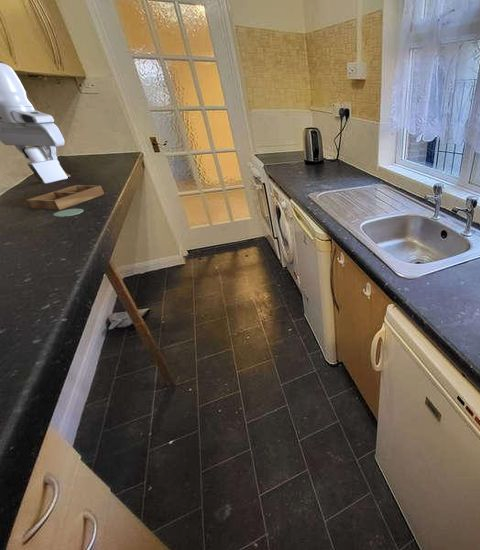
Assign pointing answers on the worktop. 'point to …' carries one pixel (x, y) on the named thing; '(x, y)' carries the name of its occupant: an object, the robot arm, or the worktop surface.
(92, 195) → the tray
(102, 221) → the worktop surface
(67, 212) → the mat
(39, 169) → the medicine bottle
